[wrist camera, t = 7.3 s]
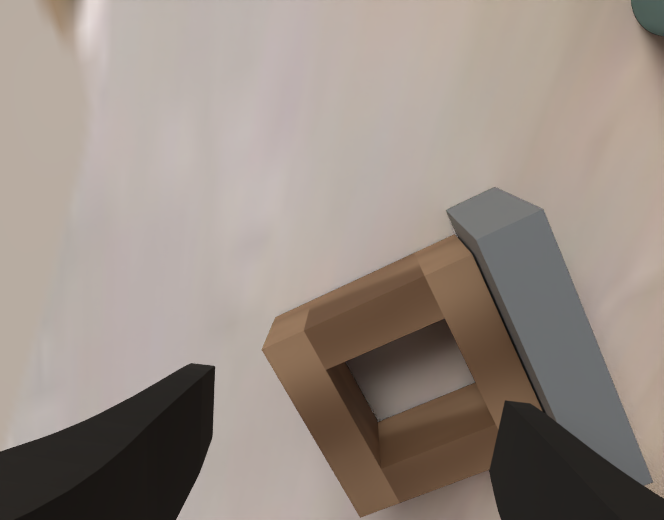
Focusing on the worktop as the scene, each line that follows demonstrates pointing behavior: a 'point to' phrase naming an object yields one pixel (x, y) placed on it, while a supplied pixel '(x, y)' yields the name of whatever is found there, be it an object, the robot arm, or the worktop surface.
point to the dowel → (650, 15)
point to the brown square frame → (419, 422)
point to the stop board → (547, 323)
